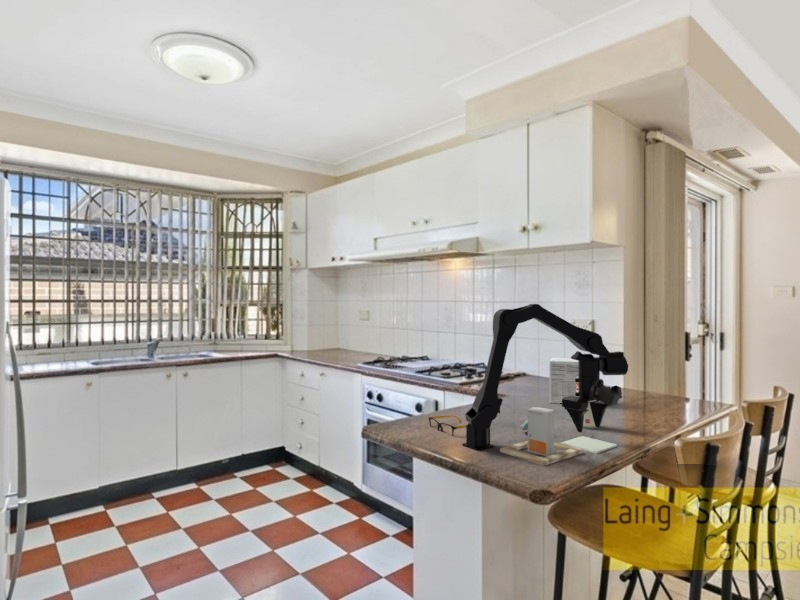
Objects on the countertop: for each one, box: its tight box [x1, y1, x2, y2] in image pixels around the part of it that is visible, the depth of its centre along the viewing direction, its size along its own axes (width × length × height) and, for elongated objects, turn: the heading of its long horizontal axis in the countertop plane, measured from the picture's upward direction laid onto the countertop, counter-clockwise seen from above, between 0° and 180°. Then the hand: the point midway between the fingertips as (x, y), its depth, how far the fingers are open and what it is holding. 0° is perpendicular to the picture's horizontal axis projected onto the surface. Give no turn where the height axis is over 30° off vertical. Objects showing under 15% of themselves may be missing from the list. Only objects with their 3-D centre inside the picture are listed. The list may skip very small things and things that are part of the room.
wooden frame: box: [499, 440, 583, 466], centre depth 130 cm, size 17×14×1 cm
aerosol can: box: [576, 375, 600, 430], centre depth 158 cm, size 7×7×20 cm
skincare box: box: [527, 406, 555, 457], centre depth 130 cm, size 6×4×12 cm
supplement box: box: [549, 357, 578, 404], centre depth 199 cm, size 13×13×18 cm
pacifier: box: [519, 419, 528, 431], centre depth 148 cm, size 7×6×6 cm
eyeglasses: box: [428, 414, 467, 436], centre depth 154 cm, size 14×14×4 cm
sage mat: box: [560, 435, 618, 454], centre depth 137 cm, size 11×11×1 cm
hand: (588, 429), depth 137 cm, fingers open, 9 cm apart
